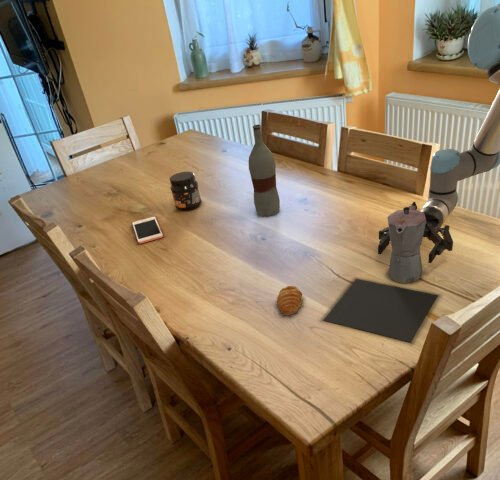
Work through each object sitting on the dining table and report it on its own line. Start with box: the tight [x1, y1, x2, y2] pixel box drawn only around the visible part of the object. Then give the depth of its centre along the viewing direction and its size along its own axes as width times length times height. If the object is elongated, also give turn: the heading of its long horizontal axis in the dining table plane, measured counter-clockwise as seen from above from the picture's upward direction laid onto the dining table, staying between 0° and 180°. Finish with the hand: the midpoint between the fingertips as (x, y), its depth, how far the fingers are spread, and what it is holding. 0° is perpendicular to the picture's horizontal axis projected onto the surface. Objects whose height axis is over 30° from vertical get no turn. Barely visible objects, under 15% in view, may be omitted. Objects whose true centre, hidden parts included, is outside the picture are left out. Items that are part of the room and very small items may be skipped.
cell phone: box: [132, 216, 164, 245], centre depth 180 cm, size 9×18×1 cm, turn 18°
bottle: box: [248, 124, 281, 218], centre depth 169 cm, size 9×9×30 cm
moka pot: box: [386, 201, 426, 284], centre depth 129 cm, size 10×15×20 cm, turn 155°
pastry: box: [276, 285, 303, 316], centre depth 130 cm, size 9×7×4 cm
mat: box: [323, 278, 439, 344], centre depth 124 cm, size 22×20×1 cm
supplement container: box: [169, 171, 202, 212], centre depth 189 cm, size 10×10×12 cm
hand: (404, 254), depth 130 cm, fingers open, 13 cm apart
